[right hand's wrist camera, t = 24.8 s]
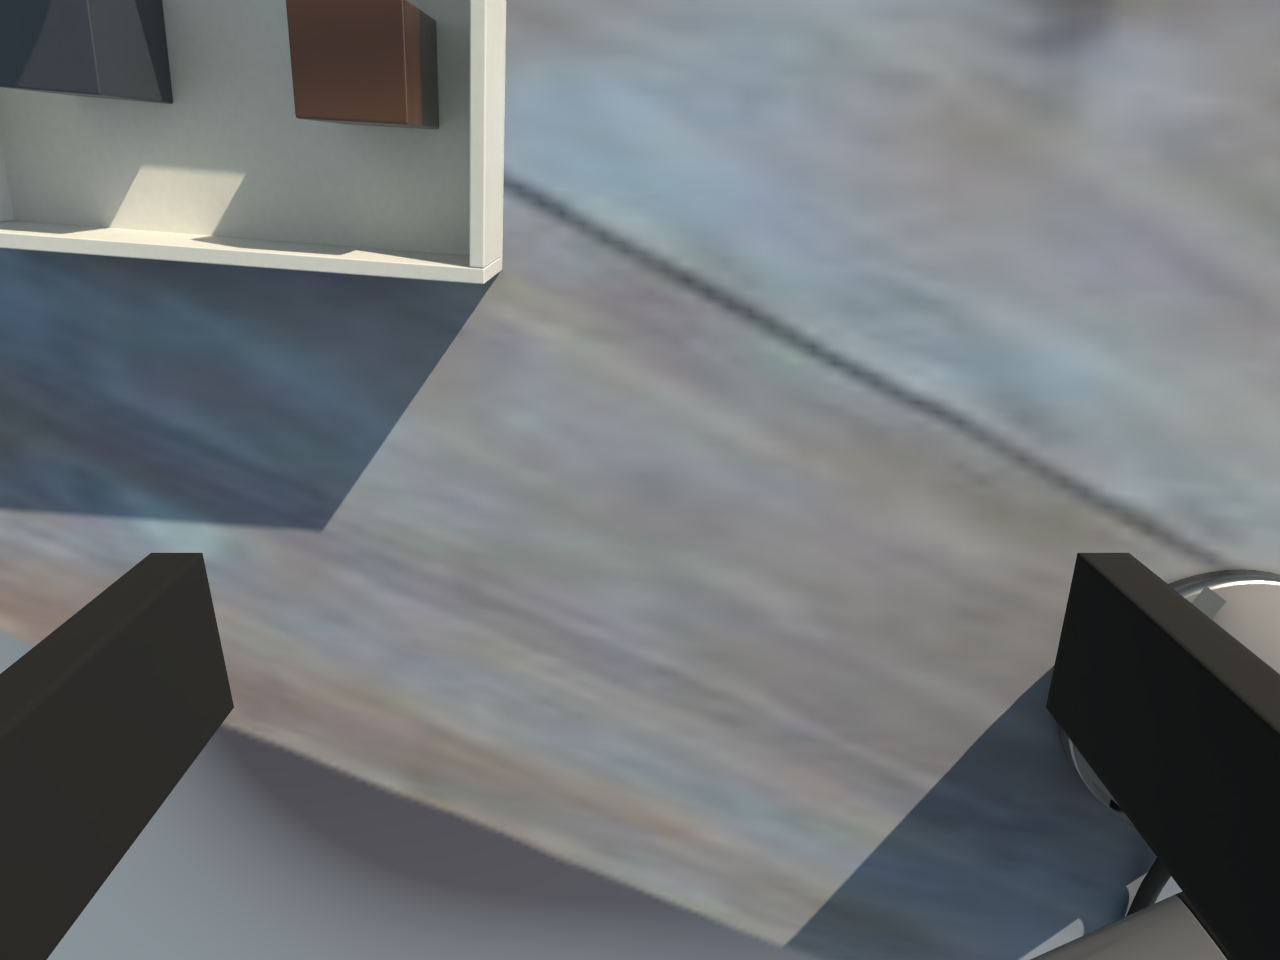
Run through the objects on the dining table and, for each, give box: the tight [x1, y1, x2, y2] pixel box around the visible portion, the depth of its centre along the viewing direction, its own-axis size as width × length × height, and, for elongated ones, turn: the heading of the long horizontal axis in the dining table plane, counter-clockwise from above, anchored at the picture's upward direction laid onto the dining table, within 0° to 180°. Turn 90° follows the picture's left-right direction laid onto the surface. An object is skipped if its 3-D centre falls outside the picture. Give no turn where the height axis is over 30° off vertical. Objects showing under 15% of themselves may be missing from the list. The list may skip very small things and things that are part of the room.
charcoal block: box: [0, 0, 173, 104], centre depth 31 cm, size 4×4×5 cm
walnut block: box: [286, 0, 439, 130], centre depth 31 cm, size 4×4×5 cm
